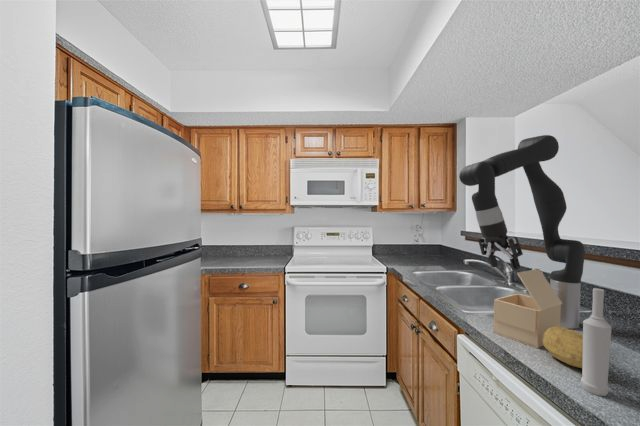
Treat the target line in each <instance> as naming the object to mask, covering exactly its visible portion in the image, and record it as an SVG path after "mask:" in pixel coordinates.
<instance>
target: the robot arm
mask: <svg viewBox="0 0 640 426" xmlns="http://www.w3.org/2000/svg"><path fill="white" fill-rule="evenodd" d="M559 148H560V146H559V142H558V139H557V138H556V137H555V136H553V135H550V134H545V135H544V134H543V135H538V136H533V137H528V138H527V137H526V138H524V139H522V140H520V141H519V142H518V146H517V148H516V149H512V150H508V151H504V152H501V153H498V154H496V155H493V156H490V157H489V158H486V159H484V160H482V161H478V162H476V163H472V164H468V165H466V166H464V167H463V168H462V169H461V170H460V172H459V176H458V177H459V181H460V182H461V183H462V184H463V185H464V186H468V187H473V186H478V188H477V189H478V190H477V192H474V193H473V194H472V195H471V201H472V204H473V207H474V211H475V216H476V220H477V223H478V227H479V230H480V232H481V236H482V237H481V238H479V239H477V240H478V241H477V242H478V245H479V248H480V253H481V255H482V256H486V258H488V261H489V264H490V266H491V268H496V267H498V266H499V263H498V260H497V258H496V257H497V256H496V255H495V253H496V252H502V254H504V255H506V256H507V257H508V258H509V261H510V265H511V268H512V270H514V271H517V270H519V269H520V267H521V264H520V259H519V257H521V256H523V254H524V253H523V251H522V250H523V249H522V247H521V245H520V242H519V240H518V237H516V236H513V237H511V238H510V237H509V236H508V235H507V234H508V228H507V225H506V221H505V219H504V216H503V212H502V209H501V208H500V205H499V202H498V198H497V197H496V178H498V177H500V176H502V175H504V174H509V172H512V171H514V170H517V169H520V168H523V171H524V173H525V176H526V178H527V181H528V183H529V187H530V191H531V193H532V194H531V195H532V198H533V202H534V206H535V209H536V211H537V215H538V218H539V223H540V226H541V231H542V236H543V241H544V248H545V249H544V250H545V253H546V255H547V257H548V258H549V260H550V261H552V262H557V263H562V264H565V265H564V266H565V267H564V268H563V269H560V270H553V271H551V272H550V280H549V281H550V283H549V284H550V286H551V287H552V289H553V290H554V291H555V293H556V294H557V296H558V297H559V299H560V300H561V302H562V303H563V304H561V311H560V327H564V328H567V329H570V330H574V329H576V330H577V329H579V328H580V316H581V315H580V311H581V286H582V285H581V284H582V278H583V277H582V276H583V273H584V264H585V253H586V251H585V245H584V243H582V242H581V241H580V240H575V239H564V238H561V237H560V234H559V226H560V224H561V221H562V220H563V218H564V216H565V214H566V211H567V203H566V199H565V195H564V192H563V190H562V189H561V186H559V185H558V184H557V183H556V182H555V181H554V180H553V179H551V178H550V177H549V176H548V175H547V174H546V172H545V171H544V170H543V168H542V165H541V162H547V161H550V160H552V159H554V158H555V157H556V156H557V154H558V152H559Z"/></svg>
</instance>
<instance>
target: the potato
mask: <svg viewBox="0 0 640 426" xmlns="http://www.w3.org/2000/svg"><path fill="white" fill-rule="evenodd" d="M542 339H543V345H544V348H545V349H546V350H547V351H548V352H549V354H550V355H551V356H553V358H555V359H557V360H559V361H561V362H562V363H565V364H567V365H569V366H571V367H574V368H579V369H582V366H583V334H581V333H580V332H578V331H576V330H574V329H570V328H564V327H551V328H549V329H547V331H546V332H545V333H544V335H543V338H542Z"/></svg>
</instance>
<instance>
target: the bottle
mask: <svg viewBox="0 0 640 426" xmlns="http://www.w3.org/2000/svg"><path fill="white" fill-rule="evenodd" d="M604 298H605V289H602V288H597V287H596V288H595V287H594V288H592V306H591V307H592V310H591V311H592V312H591V315H589V317H587V318H586V319H584V320H583V321H582V327H583V328H582V335H583V366H582V368H581V369H582V372H581V373H582V377H581V378H580V385H581V388H582V389H583V390H584V391H586V392H587V393H590V394H592V395H596V396H599V397H600V396H601V397H605V396H607V395H608V394H609V391H610V387H609V385H608V384H609V369H610V355H611V344H612V342H611V341H612V325H610V324H609V323H608V321H606V320H605V317H604Z"/></svg>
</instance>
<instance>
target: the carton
mask: <svg viewBox="0 0 640 426" xmlns="http://www.w3.org/2000/svg"><path fill="white" fill-rule="evenodd" d="M493 300H494V301H493V302H494V303H493V327H492V330H493V331H492V333H493V334H496V335H499V336H502V337H505V338H507V339H510V340H514V341H515V342H518V343H520V344H524V345H527V346H530V347H532V348H535V349H539V348H541V347H543V346H544V345H543V339H542V338H543V335H544V333H545V332H546V331H547V329H549V328H551V327H560V311H561V304H560V305H557V306H554V307H551V308H548V309H545V310H542V311H540V309H539V308H538V306H537V305H536V303H535V301H534V300H533V298H532V297H531V295H526V294H522V293H515V294H514V293H513V294H511V295H506V296H502V297H498V298H494V299H493ZM544 347H545V346H544Z"/></svg>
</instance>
